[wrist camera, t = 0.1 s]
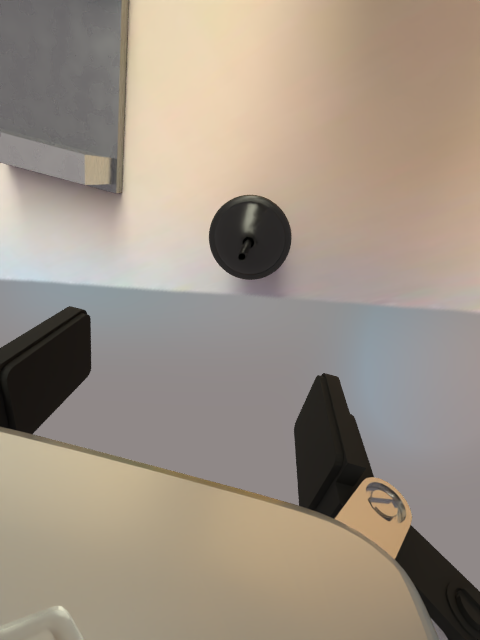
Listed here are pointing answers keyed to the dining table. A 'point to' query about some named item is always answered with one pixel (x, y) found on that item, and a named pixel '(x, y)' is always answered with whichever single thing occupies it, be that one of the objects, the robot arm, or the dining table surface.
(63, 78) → the vise base
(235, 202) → the drinking cup
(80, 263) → the dining table surface
